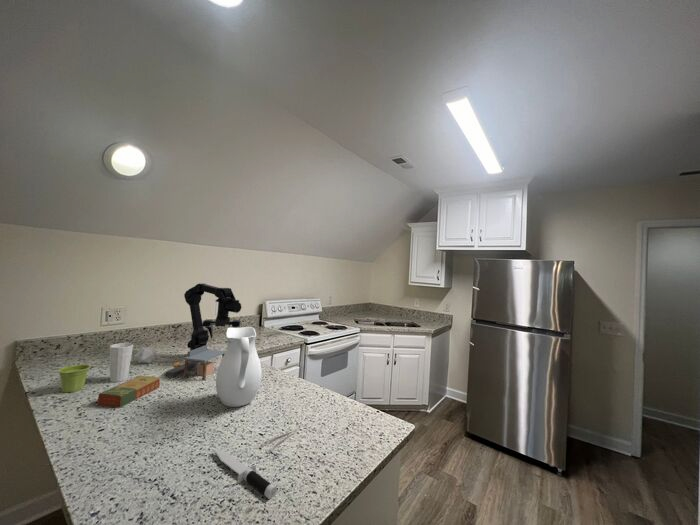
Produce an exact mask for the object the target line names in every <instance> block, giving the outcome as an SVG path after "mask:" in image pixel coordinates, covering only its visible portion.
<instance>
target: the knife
mask: <svg viewBox="0 0 700 525" xmlns="http://www.w3.org/2000/svg"><path fill="white" fill-rule="evenodd" d="M211 451H213V452H214V454H216V456H217V457H218V459H219V460H220V461H221V462H222V463H223V464H225V466H227V467H229V469H231V470H232V471H233V472H235V473H236V474H237V484H241V483H242V482H243V481H245V482H246V483H248V484H249V485H250V486H251V487H253V488H254V489H255V490H256V491H258V492H259V493H260V494H261V495H263V496H265V497H266V498H267V499H268V500H271V499H272V498H274V497H275V496H276V495H277V492H278V488H277V487H276V486H275V485H273V484H272V483H271V482H269V480H266V478H264V477H263V476H262V475H261V474H260V475H259V473H258V472H256V469H257V465H255V464H252V465H250V466H249V467H248V466H246V465H245V464H243V463H242V462H240V461H239V460H238V459H236V458H235V457H234V456H232V455H231V454H230V453H228V452H227V451H226V450H225V451H224V450H221V449H216V448H211ZM241 481H242V482H241Z"/></svg>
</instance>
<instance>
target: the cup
mask: <svg viewBox="0 0 700 525" xmlns="http://www.w3.org/2000/svg"><path fill="white" fill-rule="evenodd" d="M133 349H134V343H133V342H122V343H121V342H120V343H115V344H114V343H113V344H111V345H109V349H108V350H109V376H110V377H109V380H110V382H111V383H120V382H126V381H127V380H128V378H129V372H130V366H131V360H132V355H133Z"/></svg>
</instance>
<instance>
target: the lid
mask: <svg viewBox="0 0 700 525" xmlns="http://www.w3.org/2000/svg"><path fill="white" fill-rule="evenodd" d="M225 352H226V350H220V349H212V348H211V349H210V348H209V349H208V345H207V344H206V345H205V346H202V347H199V348H197V349H194V350H191V351H190V350H188V351H187V356H185V357H184V358H183V360H184V361H185V360H191V361H200V362H206V361H208V362H209V361H211V360H213V359H215V358H218V357H220V356H222V354H224V353H225Z"/></svg>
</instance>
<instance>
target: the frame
mask: <svg viewBox="0 0 700 525" xmlns="http://www.w3.org/2000/svg"><path fill="white" fill-rule="evenodd" d="M224 354H225V353H224ZM224 354H222V355H221V356H222V358H223V356H224ZM222 358H221V359H222ZM188 362H195V363H199V364H200V363H203V375H201V376H202V378H201V380H202V381H206V379H207V378H206V377H207V376H206V365H207V362H209V360H208V361H206V362H200V361H191V360H184V364H185V367H184V373H183V378H184V379H186V378H188V372H189V371H188Z"/></svg>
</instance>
